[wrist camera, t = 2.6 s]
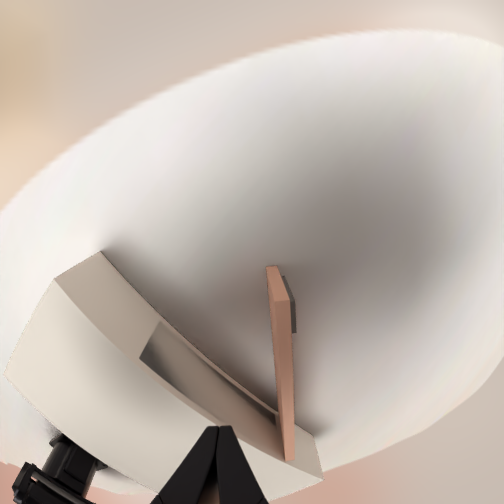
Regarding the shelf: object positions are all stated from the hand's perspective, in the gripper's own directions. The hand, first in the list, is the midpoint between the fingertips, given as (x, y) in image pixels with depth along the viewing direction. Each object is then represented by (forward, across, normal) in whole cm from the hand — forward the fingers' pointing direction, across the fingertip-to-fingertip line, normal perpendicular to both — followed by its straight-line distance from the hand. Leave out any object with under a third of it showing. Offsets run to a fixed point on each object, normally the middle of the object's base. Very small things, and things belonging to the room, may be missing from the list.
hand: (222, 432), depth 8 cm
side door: (+8, -3, +3) cm, 9 cm away
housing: (+9, +6, +8) cm, 13 cm away
